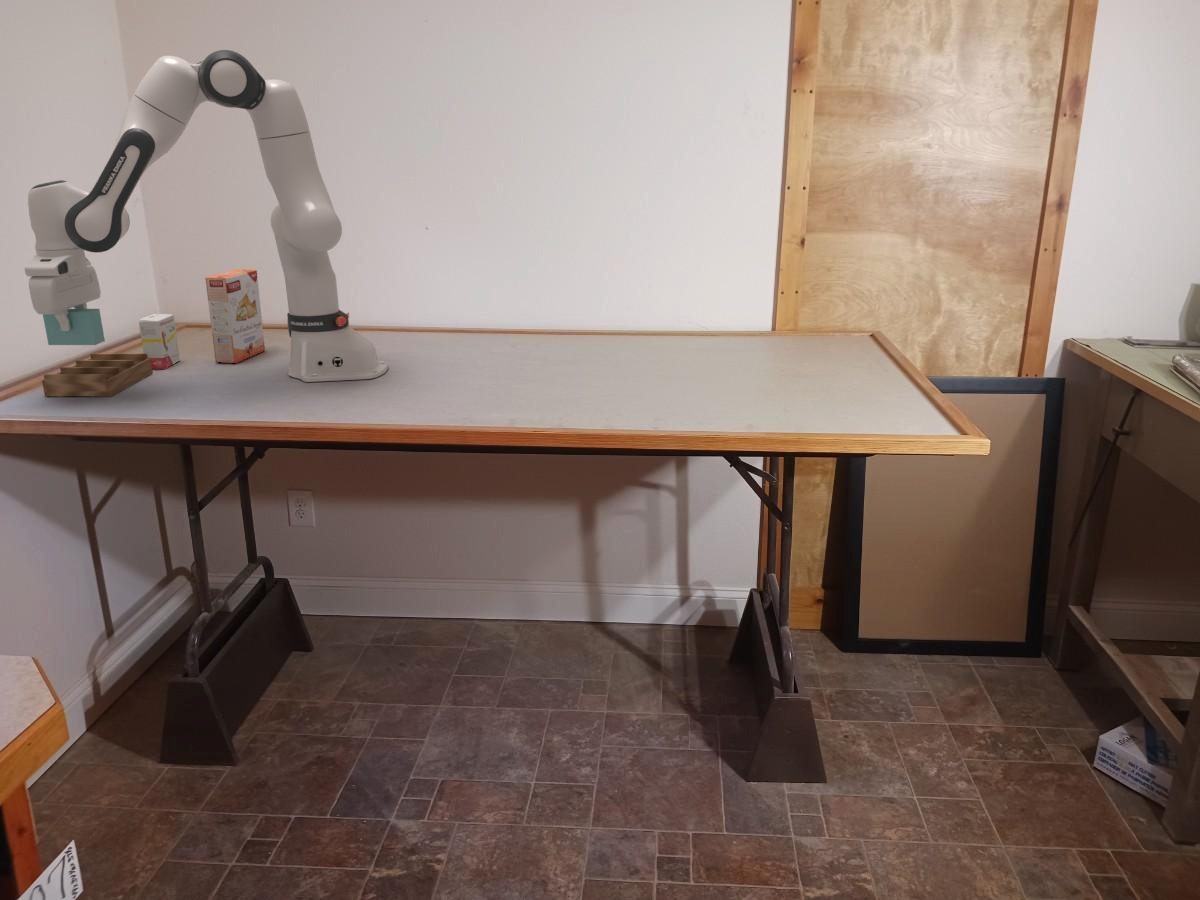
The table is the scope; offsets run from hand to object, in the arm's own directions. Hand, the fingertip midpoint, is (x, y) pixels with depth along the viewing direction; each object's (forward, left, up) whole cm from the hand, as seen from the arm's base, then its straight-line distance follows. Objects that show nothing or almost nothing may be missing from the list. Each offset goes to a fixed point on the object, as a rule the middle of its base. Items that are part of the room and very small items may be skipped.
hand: (74, 327), depth 206 cm
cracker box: (-22, -33, -15) cm, 42 cm away
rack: (0, -7, -14) cm, 16 cm away
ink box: (-6, -25, -15) cm, 29 cm away
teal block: (0, 0, -3) cm, 3 cm away
